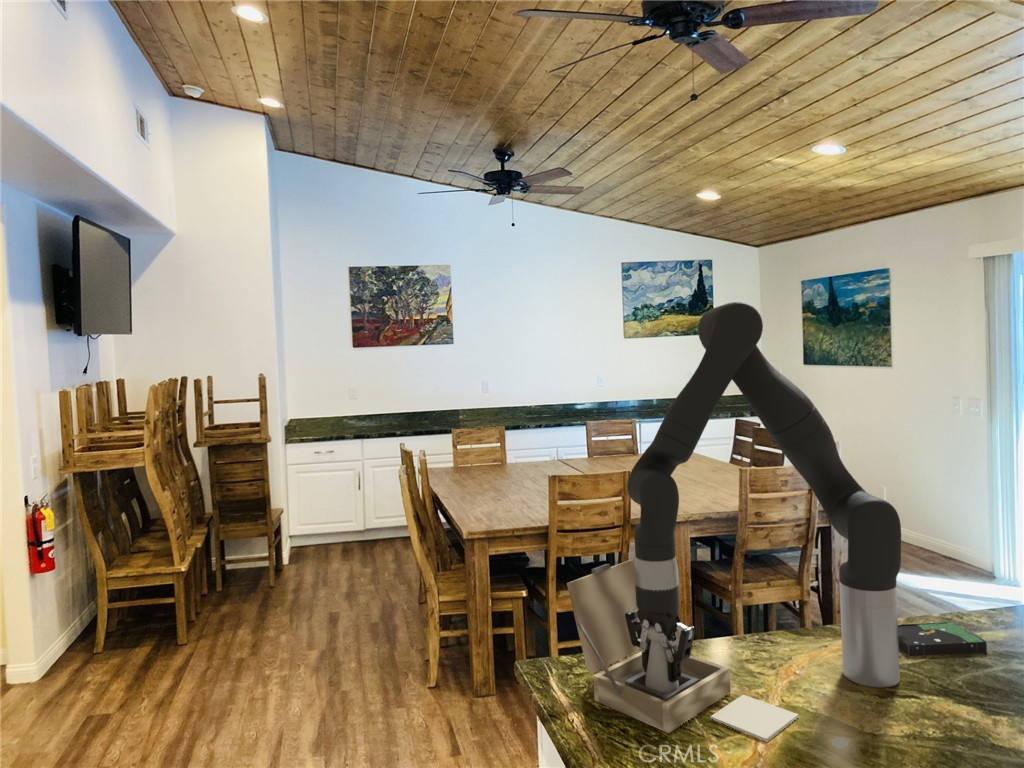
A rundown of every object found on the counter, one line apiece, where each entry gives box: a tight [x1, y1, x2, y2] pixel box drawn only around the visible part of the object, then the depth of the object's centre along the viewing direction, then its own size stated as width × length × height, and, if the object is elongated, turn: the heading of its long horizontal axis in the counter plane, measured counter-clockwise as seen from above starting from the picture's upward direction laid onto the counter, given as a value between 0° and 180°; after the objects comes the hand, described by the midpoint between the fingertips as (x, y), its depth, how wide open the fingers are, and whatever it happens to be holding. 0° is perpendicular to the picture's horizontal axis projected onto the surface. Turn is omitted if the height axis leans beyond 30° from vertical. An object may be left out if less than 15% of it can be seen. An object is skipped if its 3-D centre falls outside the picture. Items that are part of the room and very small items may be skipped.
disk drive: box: [898, 622, 988, 657], centre depth 141 cm, size 10×3×15 cm
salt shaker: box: [645, 626, 679, 694], centre depth 125 cm, size 6×6×13 cm
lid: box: [566, 558, 643, 674], centre depth 133 cm, size 18×17×1 cm
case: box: [576, 622, 732, 734], centre depth 126 cm, size 19×18×14 cm
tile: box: [710, 694, 799, 743], centre depth 117 cm, size 10×10×1 cm
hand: (661, 675), depth 126 cm, fingers open, 4 cm apart
